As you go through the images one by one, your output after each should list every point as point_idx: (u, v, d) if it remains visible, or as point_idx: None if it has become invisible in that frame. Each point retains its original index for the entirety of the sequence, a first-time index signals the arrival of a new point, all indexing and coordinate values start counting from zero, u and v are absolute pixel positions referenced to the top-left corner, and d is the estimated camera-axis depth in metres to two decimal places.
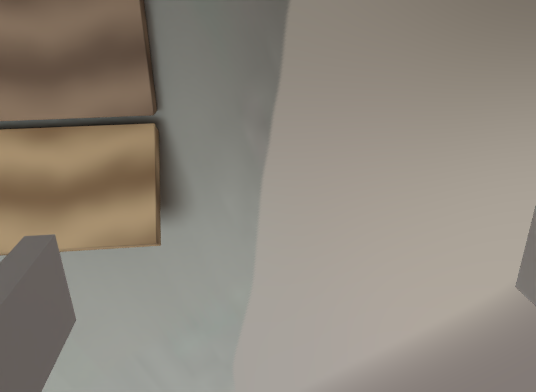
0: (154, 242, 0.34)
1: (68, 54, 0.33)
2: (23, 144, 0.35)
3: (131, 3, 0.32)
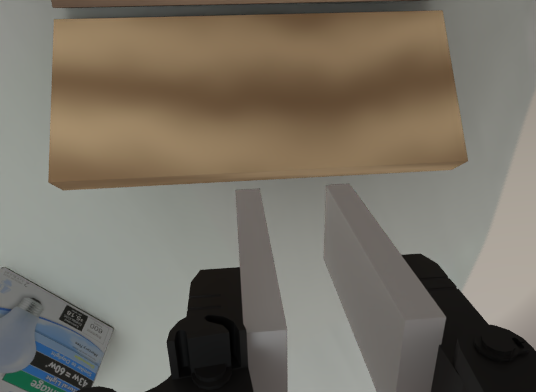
0: (465, 160, 0.25)
1: None
2: (281, 34, 0.26)
3: None
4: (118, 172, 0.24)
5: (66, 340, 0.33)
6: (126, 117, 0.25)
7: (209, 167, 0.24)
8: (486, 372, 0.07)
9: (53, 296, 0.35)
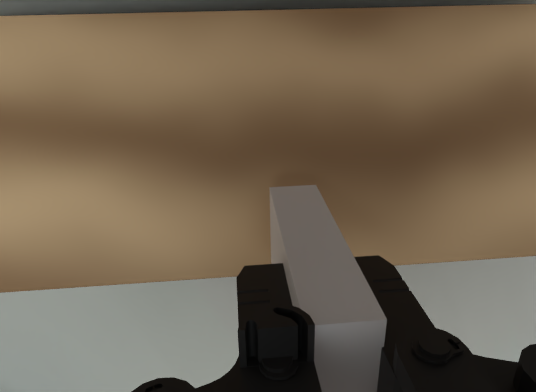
0: None
1: None
2: (316, 41, 0.16)
3: None
4: (46, 278, 0.14)
5: None
6: (61, 181, 0.15)
7: (198, 266, 0.15)
8: (423, 378, 0.07)
9: None
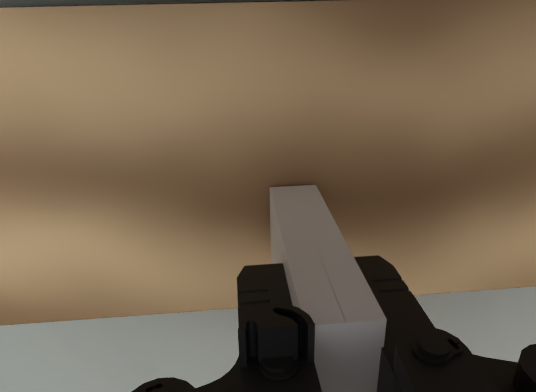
0: None
1: None
2: (349, 52, 0.12)
3: None
4: (58, 312, 0.15)
5: None
6: (50, 227, 0.14)
7: (204, 300, 0.15)
8: (423, 377, 0.07)
9: None
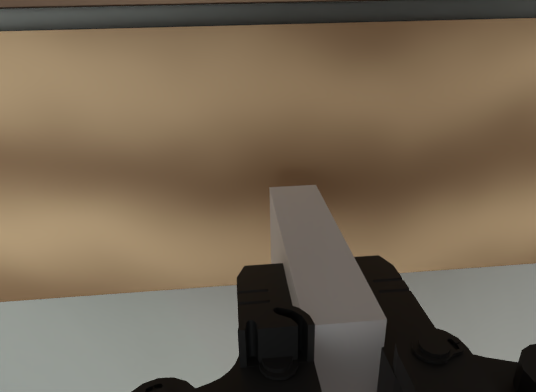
0: None
1: None
2: (324, 65, 0.15)
3: None
4: (78, 288, 0.17)
5: None
6: (73, 213, 0.16)
7: (204, 278, 0.17)
8: (423, 377, 0.07)
9: None
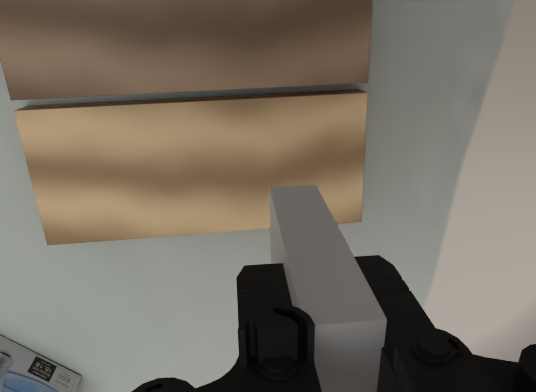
0: (359, 220, 0.34)
1: (282, 8, 0.28)
2: (220, 120, 0.30)
3: None
4: (98, 237, 0.32)
5: None
6: (96, 196, 0.31)
7: (165, 231, 0.32)
8: (423, 378, 0.07)
9: (23, 348, 0.37)
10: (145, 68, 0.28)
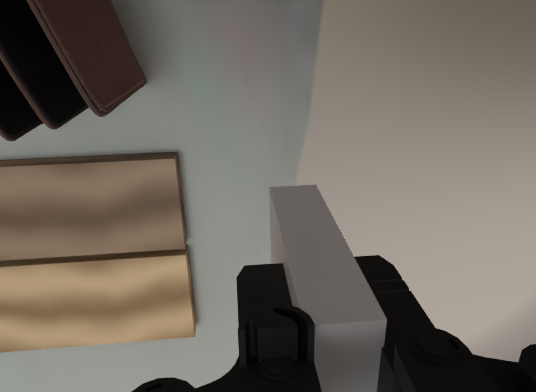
0: (193, 336, 0.46)
1: (114, 205, 0.39)
2: (78, 274, 0.42)
3: (168, 166, 0.38)
4: None
5: None
6: None
7: (46, 345, 0.44)
8: (422, 378, 0.07)
9: None
10: (19, 244, 0.40)
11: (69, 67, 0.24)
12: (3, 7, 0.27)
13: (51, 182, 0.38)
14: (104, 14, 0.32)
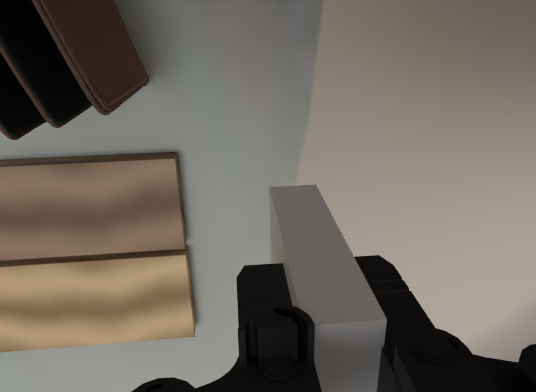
0: (193, 335, 0.46)
1: (114, 205, 0.39)
2: (78, 274, 0.42)
3: (168, 166, 0.38)
4: None
5: None
6: None
7: (46, 345, 0.44)
8: (422, 378, 0.07)
9: None
10: (19, 244, 0.40)
11: (73, 65, 0.24)
12: (6, 5, 0.27)
13: (51, 181, 0.38)
14: (107, 13, 0.32)
